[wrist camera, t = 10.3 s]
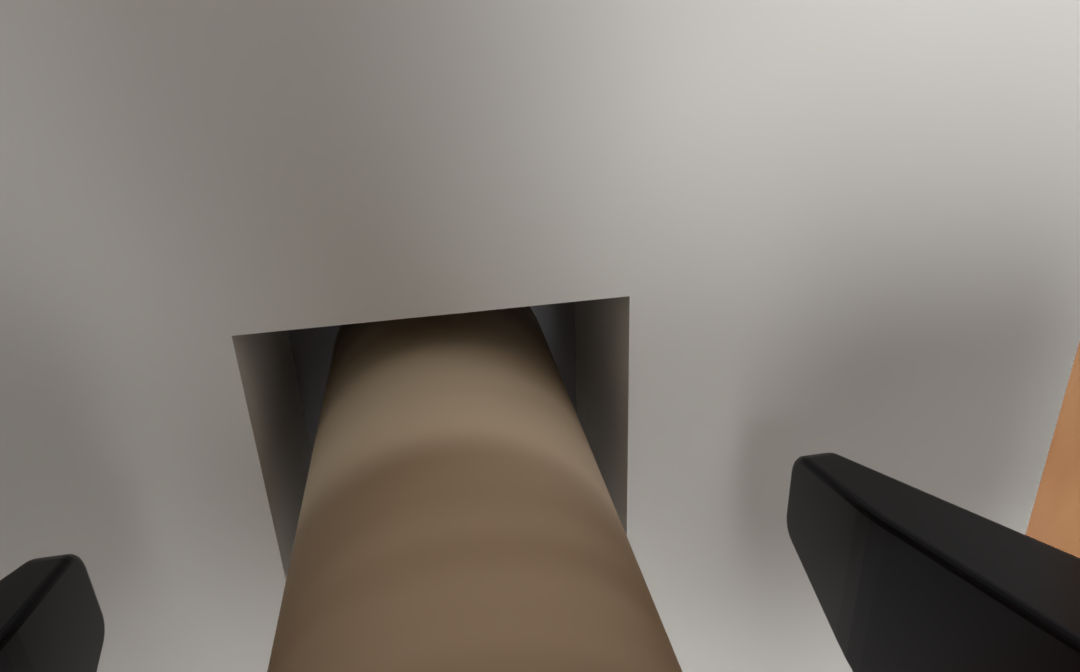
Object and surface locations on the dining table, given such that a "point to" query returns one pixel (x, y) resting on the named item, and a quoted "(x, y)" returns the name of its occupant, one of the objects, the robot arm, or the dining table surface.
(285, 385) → the socket block
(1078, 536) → the dining table surface
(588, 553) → the oak peg
